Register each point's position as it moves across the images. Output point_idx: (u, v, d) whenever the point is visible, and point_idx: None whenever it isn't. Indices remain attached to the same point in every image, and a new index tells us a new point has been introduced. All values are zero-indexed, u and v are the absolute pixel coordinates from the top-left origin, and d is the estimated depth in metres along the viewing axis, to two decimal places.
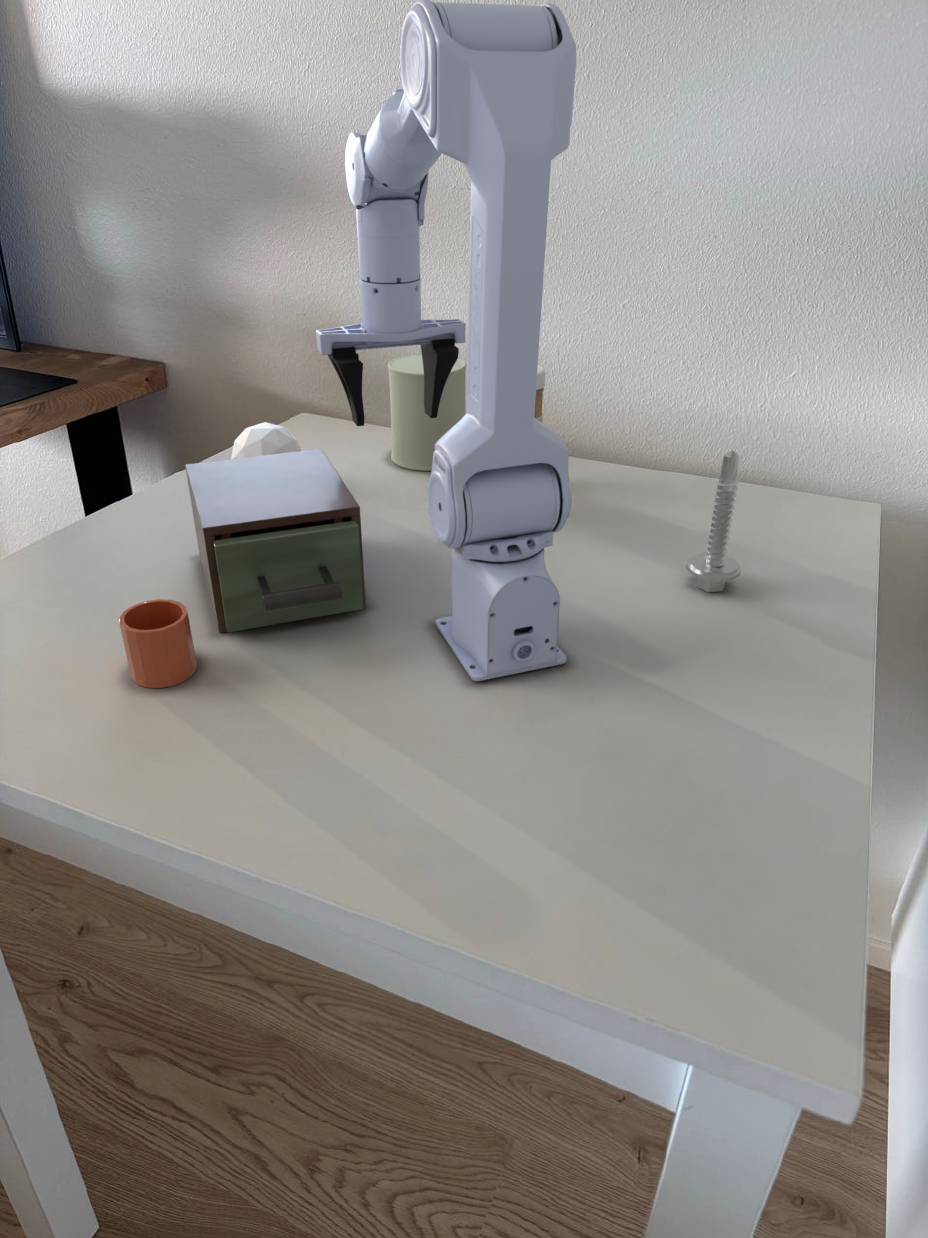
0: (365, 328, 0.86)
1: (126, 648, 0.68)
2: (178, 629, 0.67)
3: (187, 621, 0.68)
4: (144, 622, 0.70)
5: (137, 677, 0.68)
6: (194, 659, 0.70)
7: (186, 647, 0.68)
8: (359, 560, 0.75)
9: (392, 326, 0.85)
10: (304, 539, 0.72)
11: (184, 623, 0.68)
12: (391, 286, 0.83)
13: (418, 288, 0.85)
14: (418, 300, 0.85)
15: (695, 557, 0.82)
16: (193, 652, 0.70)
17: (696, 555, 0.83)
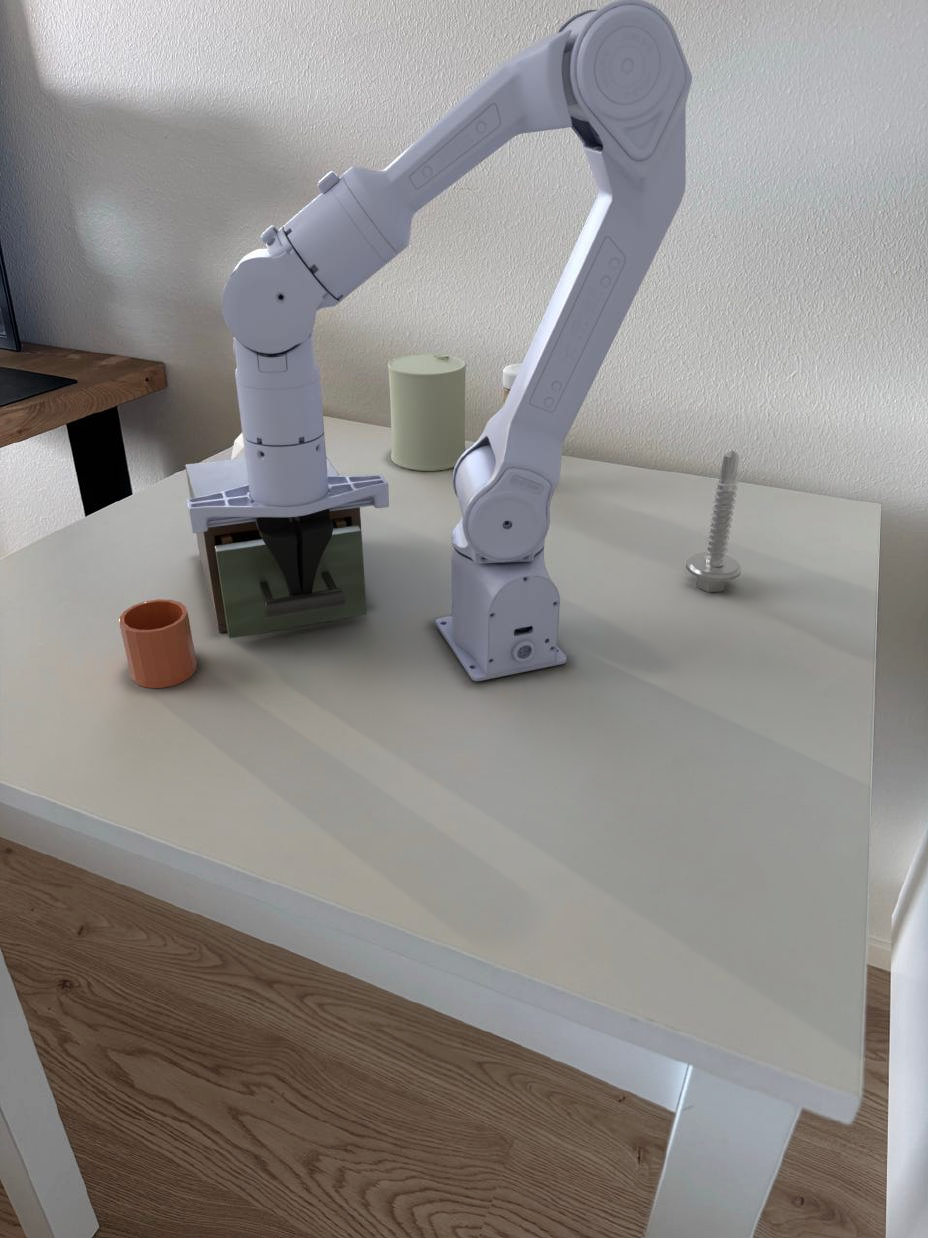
0: (252, 497, 0.65)
1: (126, 648, 0.68)
2: (178, 629, 0.67)
3: (187, 621, 0.68)
4: (144, 622, 0.70)
5: (137, 677, 0.68)
6: (194, 659, 0.70)
7: (186, 647, 0.68)
8: (362, 565, 0.74)
9: (286, 497, 0.64)
10: None
11: (184, 623, 0.68)
12: (281, 449, 0.62)
13: (320, 447, 0.64)
14: (321, 462, 0.64)
15: (695, 557, 0.82)
16: (193, 652, 0.70)
17: (696, 555, 0.83)
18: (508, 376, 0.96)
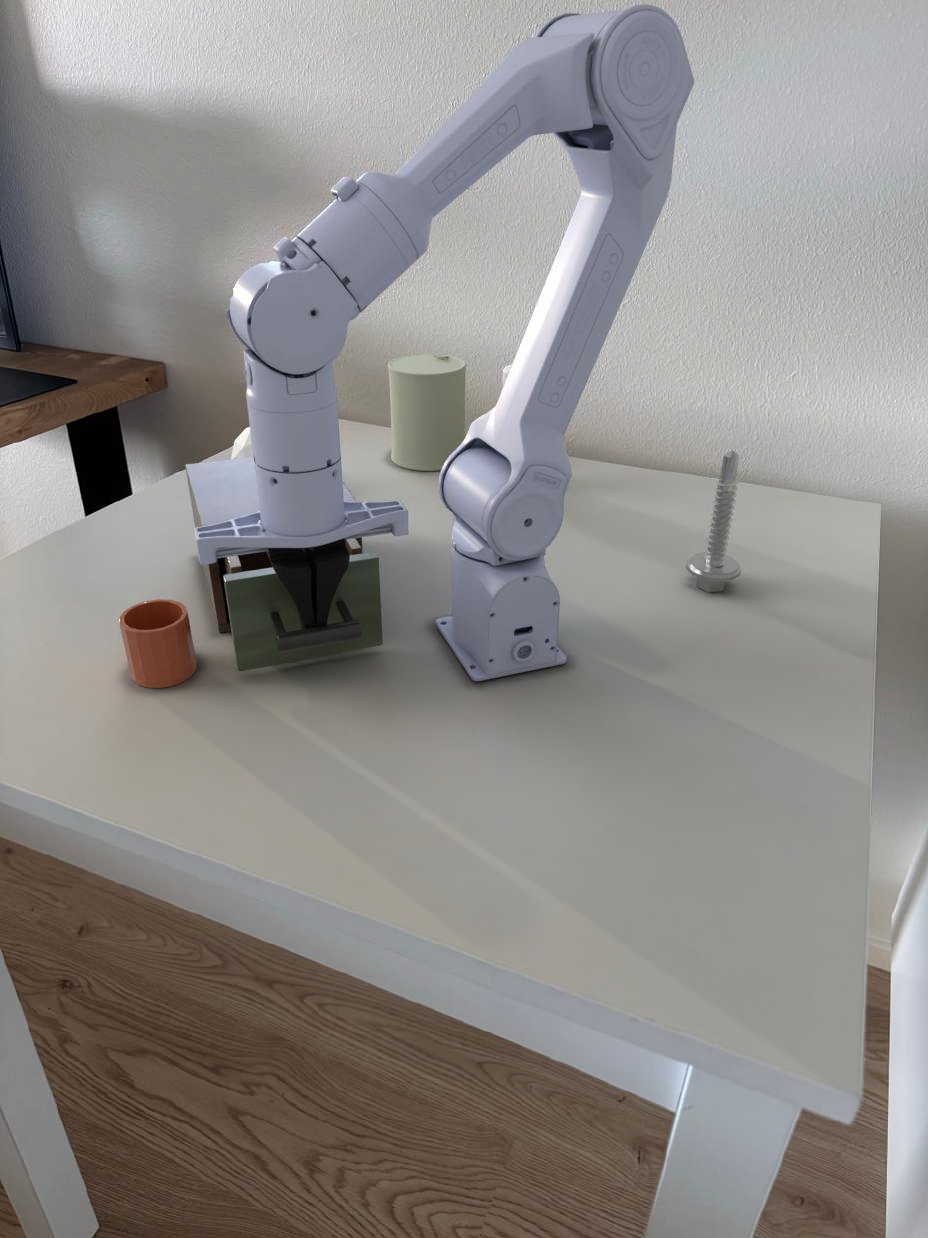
0: (263, 526, 0.61)
1: (126, 648, 0.68)
2: (178, 629, 0.67)
3: (187, 621, 0.68)
4: (144, 622, 0.70)
5: (137, 677, 0.68)
6: (194, 659, 0.70)
7: (186, 647, 0.68)
8: (379, 594, 0.70)
9: (300, 527, 0.59)
10: None
11: (184, 623, 0.68)
12: (295, 476, 0.58)
13: (337, 473, 0.60)
14: (338, 489, 0.60)
15: (695, 557, 0.82)
16: (193, 652, 0.70)
17: (696, 555, 0.83)
18: None
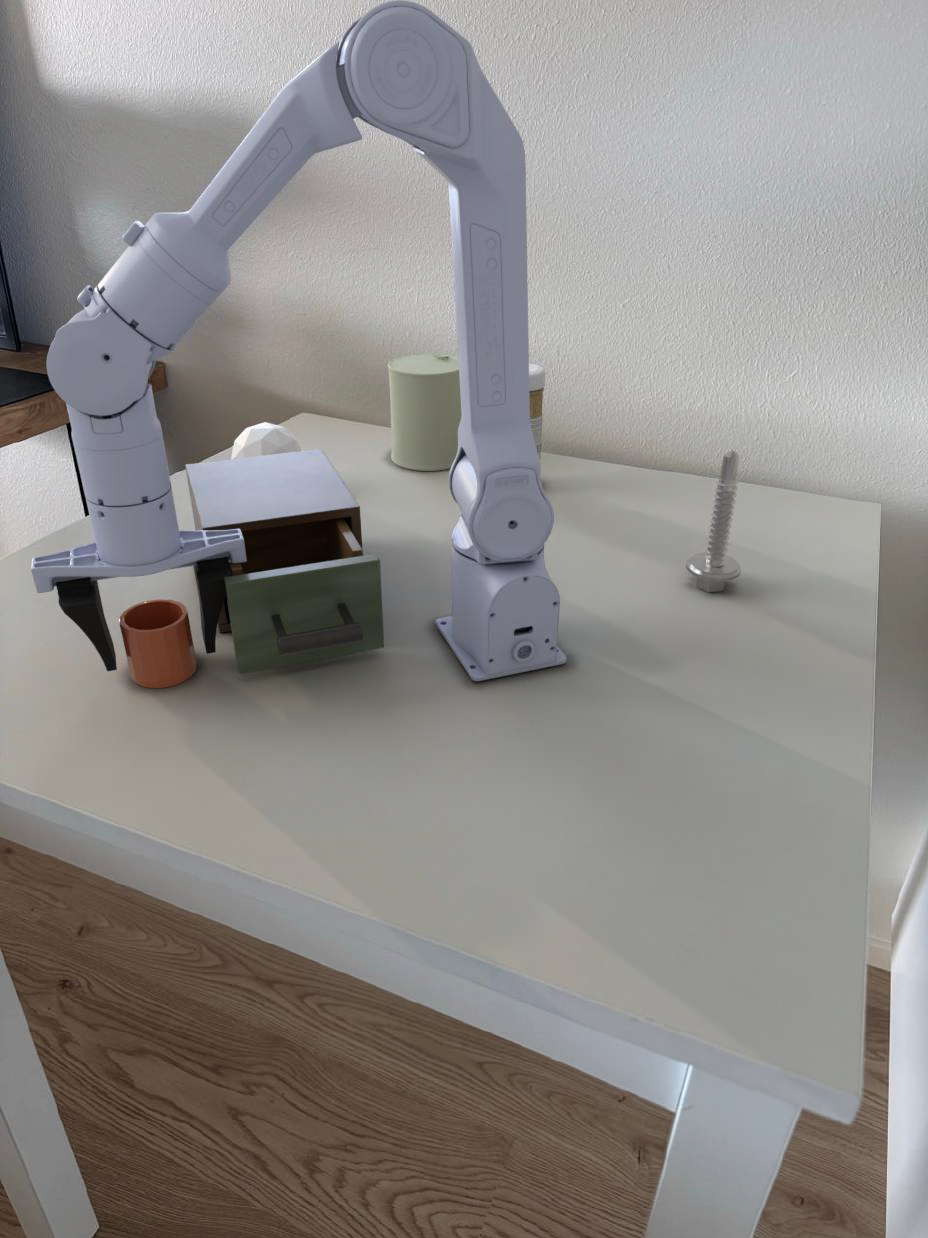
0: (99, 555, 0.64)
1: (126, 648, 0.68)
2: (178, 629, 0.67)
3: (187, 621, 0.68)
4: (144, 622, 0.70)
5: (137, 677, 0.68)
6: (194, 659, 0.70)
7: (186, 647, 0.68)
8: (380, 596, 0.69)
9: (130, 557, 0.62)
10: (322, 575, 0.67)
11: (184, 623, 0.68)
12: (120, 510, 0.61)
13: (165, 505, 0.63)
14: (167, 520, 0.63)
15: (695, 557, 0.82)
16: (193, 652, 0.70)
17: (696, 555, 0.83)
18: None
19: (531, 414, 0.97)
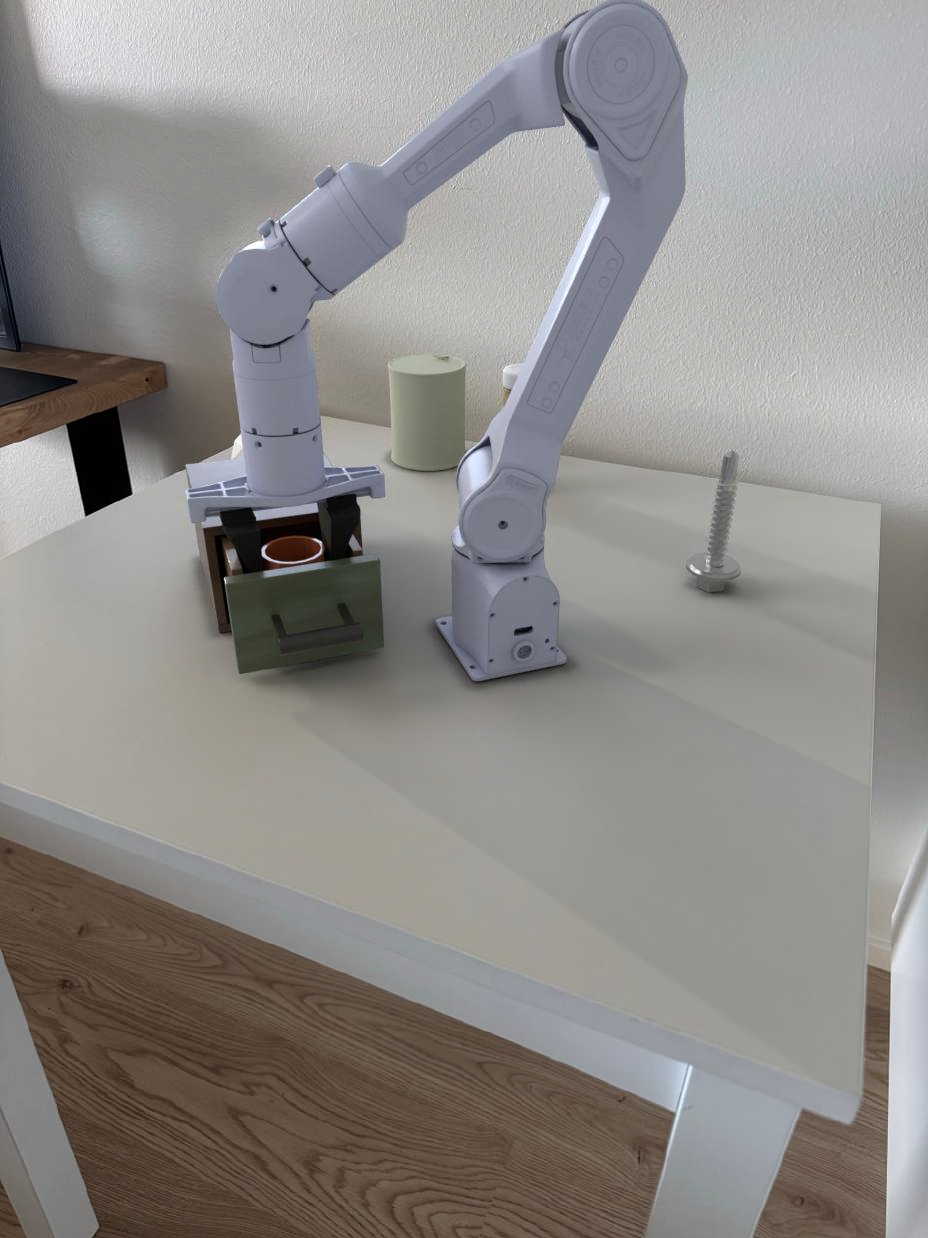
0: (249, 487, 0.66)
1: None
2: (318, 562, 0.69)
3: (325, 555, 0.70)
4: (280, 558, 0.72)
5: None
6: None
7: None
8: (380, 596, 0.69)
9: (283, 487, 0.64)
10: (322, 575, 0.67)
11: (323, 557, 0.70)
12: (278, 439, 0.62)
13: (317, 437, 0.64)
14: (318, 452, 0.65)
15: (695, 557, 0.82)
16: None
17: (696, 555, 0.83)
18: (508, 376, 0.96)
19: None
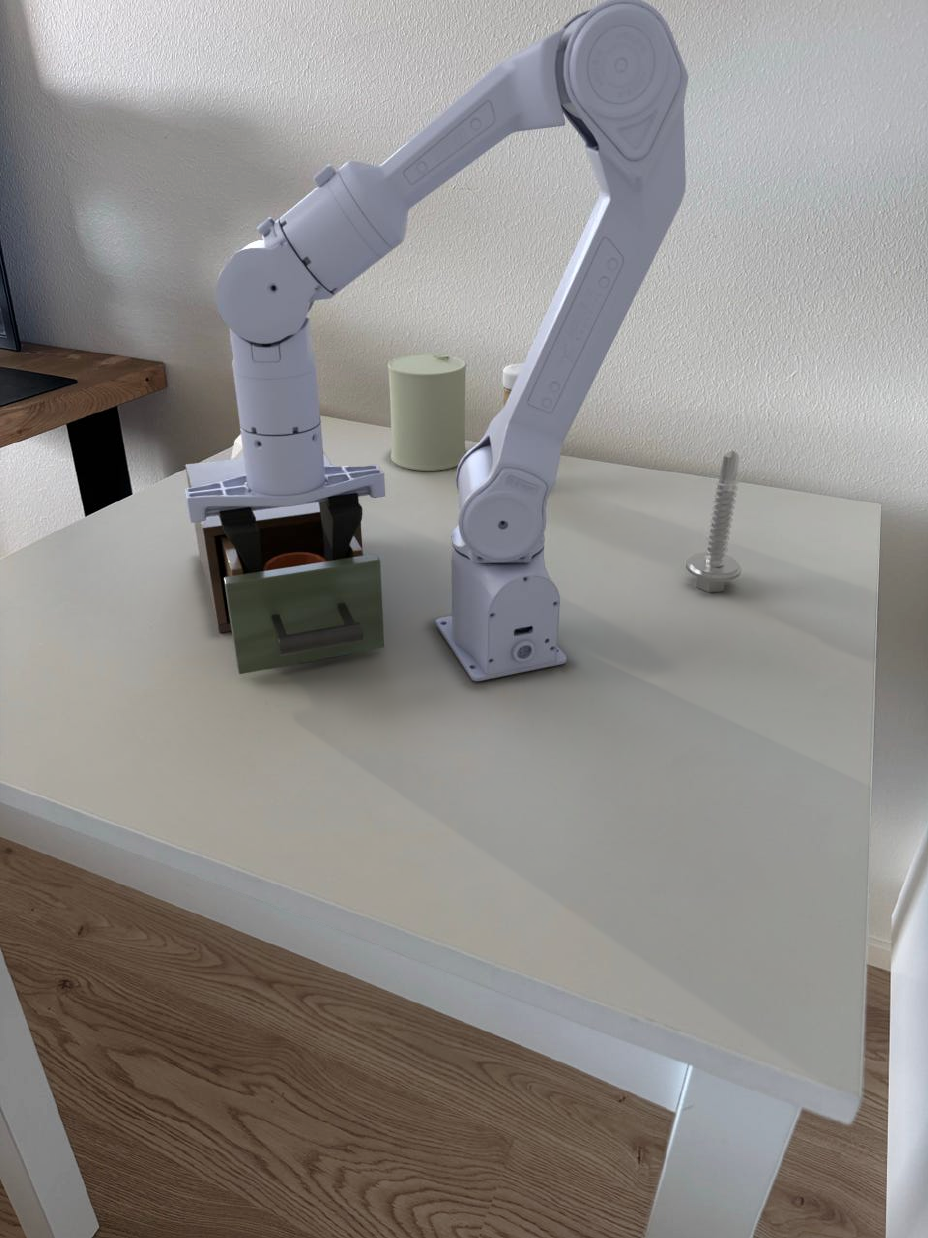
0: (249, 486, 0.66)
1: None
2: None
3: None
4: None
5: None
6: None
7: None
8: (380, 596, 0.69)
9: (283, 487, 0.64)
10: (322, 575, 0.67)
11: None
12: (278, 439, 0.62)
13: (317, 437, 0.64)
14: (317, 451, 0.65)
15: (695, 557, 0.82)
16: None
17: (696, 555, 0.83)
18: (508, 376, 0.96)
19: None
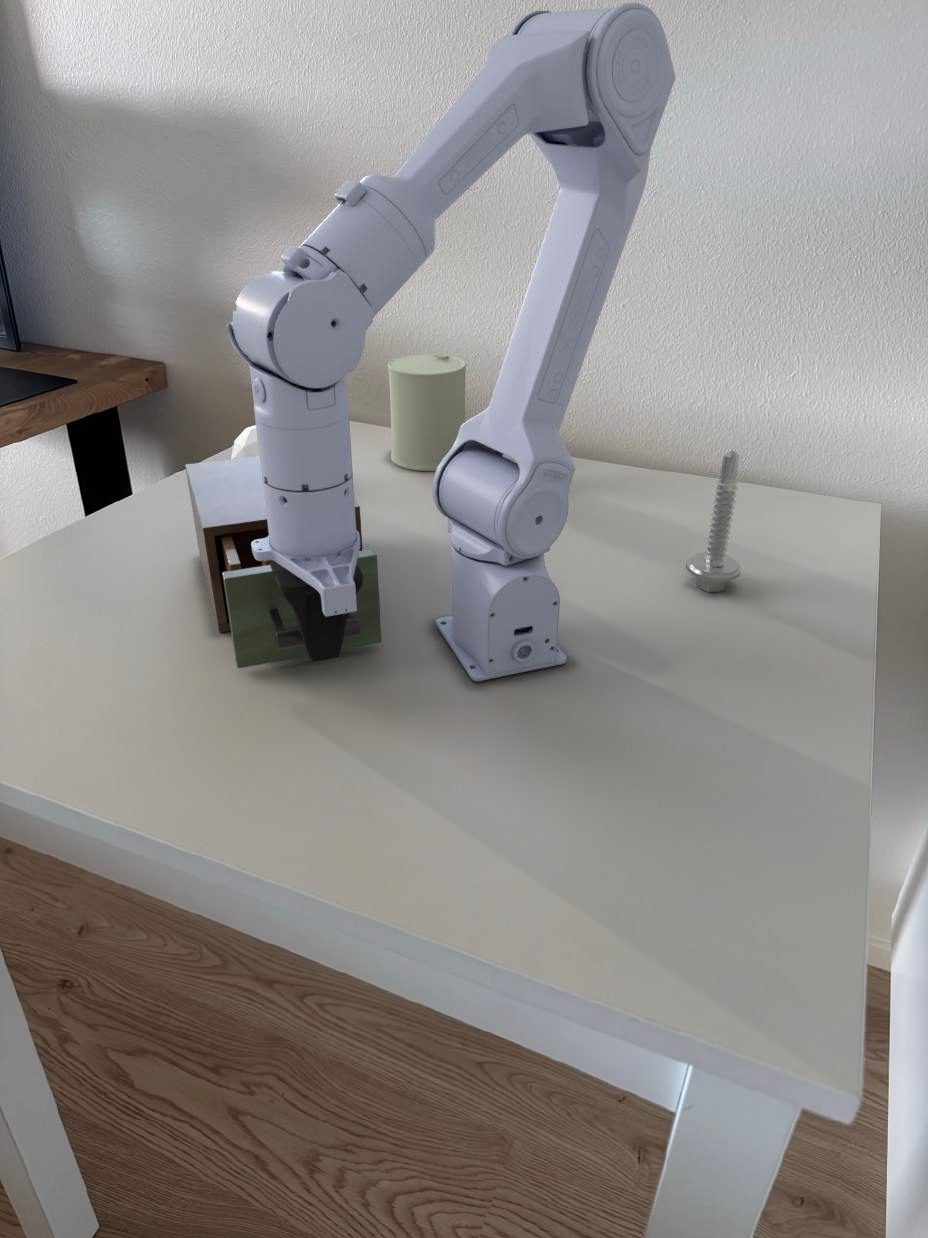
0: (332, 551, 0.58)
1: None
2: None
3: None
4: None
5: None
6: None
7: None
8: (377, 591, 0.70)
9: None
10: None
11: None
12: (352, 476, 0.58)
13: None
14: None
15: (695, 557, 0.82)
16: None
17: (696, 555, 0.83)
18: None
19: None
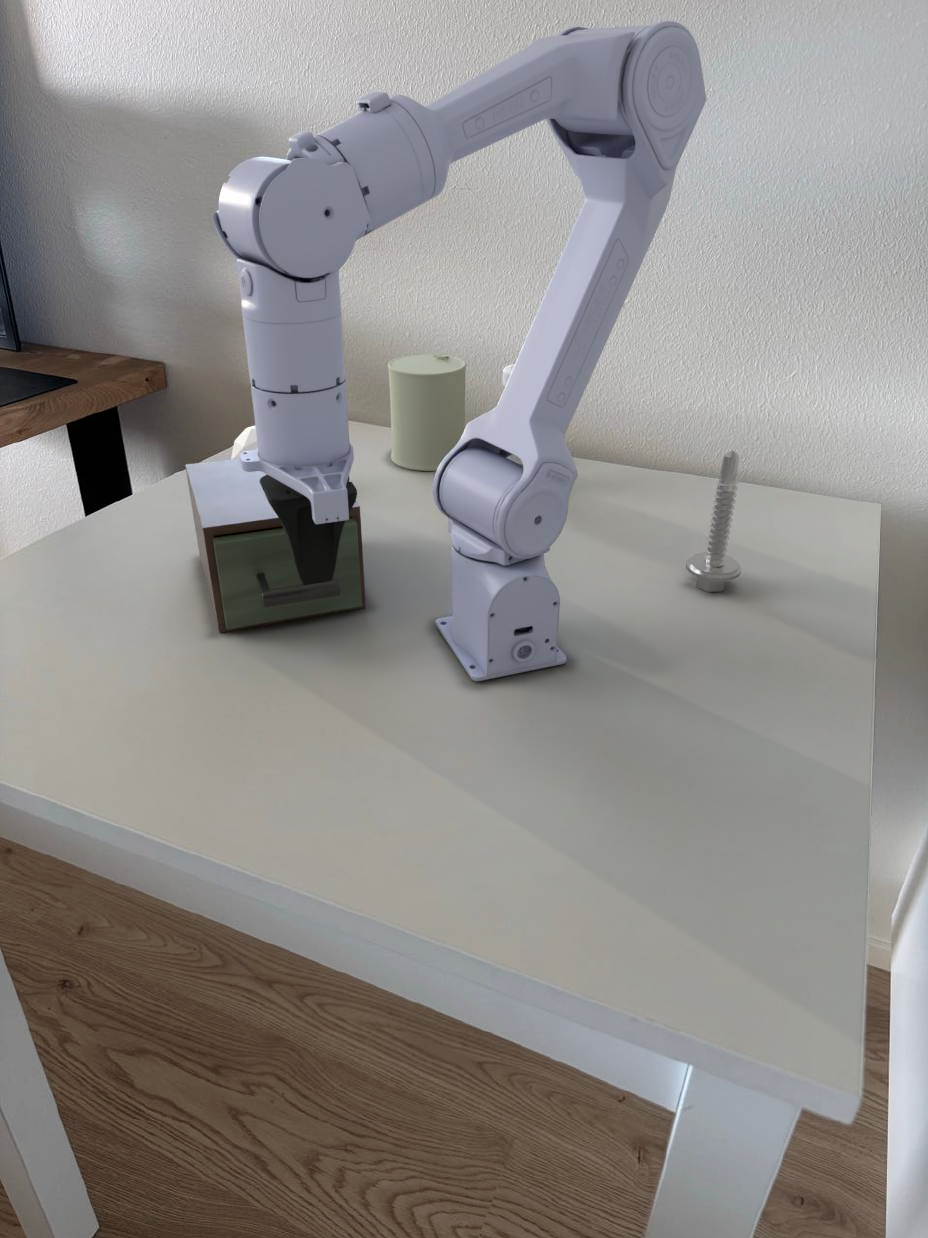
0: (323, 461, 0.55)
1: None
2: None
3: None
4: None
5: None
6: None
7: None
8: (357, 557, 0.75)
9: None
10: None
11: None
12: (345, 382, 0.55)
13: None
14: None
15: (695, 557, 0.82)
16: None
17: (696, 555, 0.83)
18: (508, 376, 0.96)
19: None
